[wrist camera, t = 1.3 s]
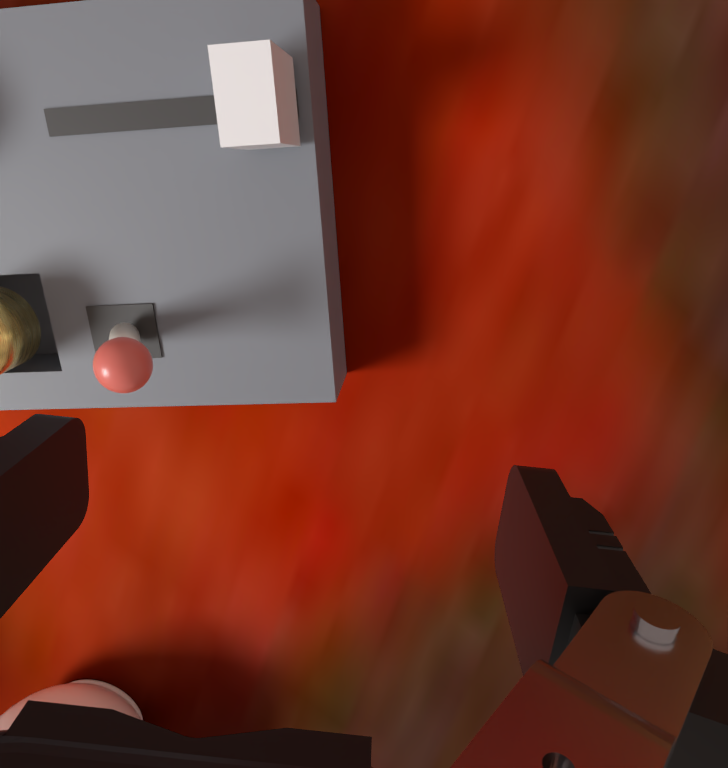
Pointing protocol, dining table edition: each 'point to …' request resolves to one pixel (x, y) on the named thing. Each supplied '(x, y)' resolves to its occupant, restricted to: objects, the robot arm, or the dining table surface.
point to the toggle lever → (123, 360)
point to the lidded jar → (78, 699)
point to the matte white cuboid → (254, 95)
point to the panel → (164, 207)
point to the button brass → (17, 330)
